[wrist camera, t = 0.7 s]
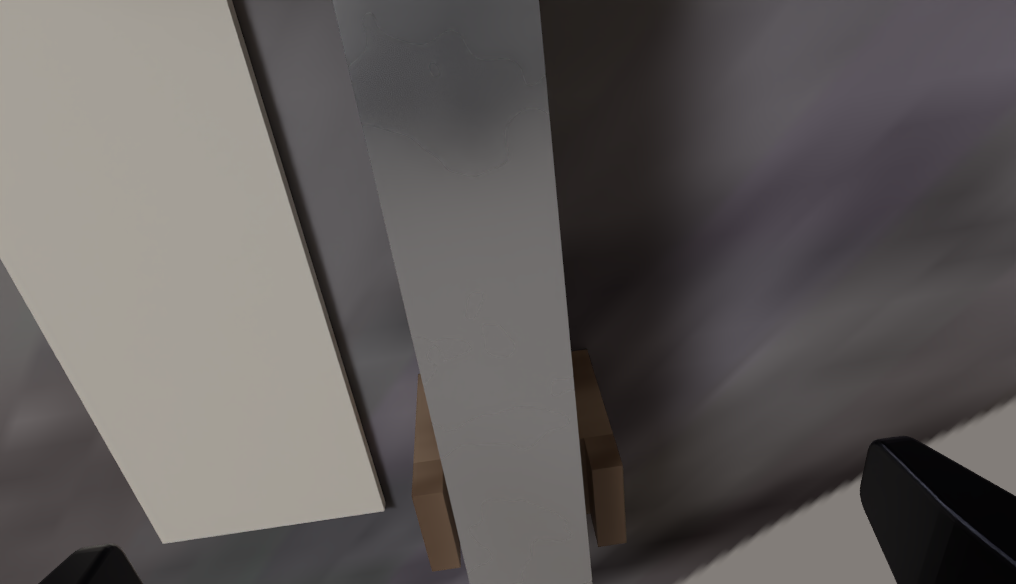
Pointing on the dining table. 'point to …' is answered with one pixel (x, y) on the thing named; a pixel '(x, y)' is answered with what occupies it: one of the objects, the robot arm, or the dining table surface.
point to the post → (596, 461)
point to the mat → (174, 264)
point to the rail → (479, 267)
